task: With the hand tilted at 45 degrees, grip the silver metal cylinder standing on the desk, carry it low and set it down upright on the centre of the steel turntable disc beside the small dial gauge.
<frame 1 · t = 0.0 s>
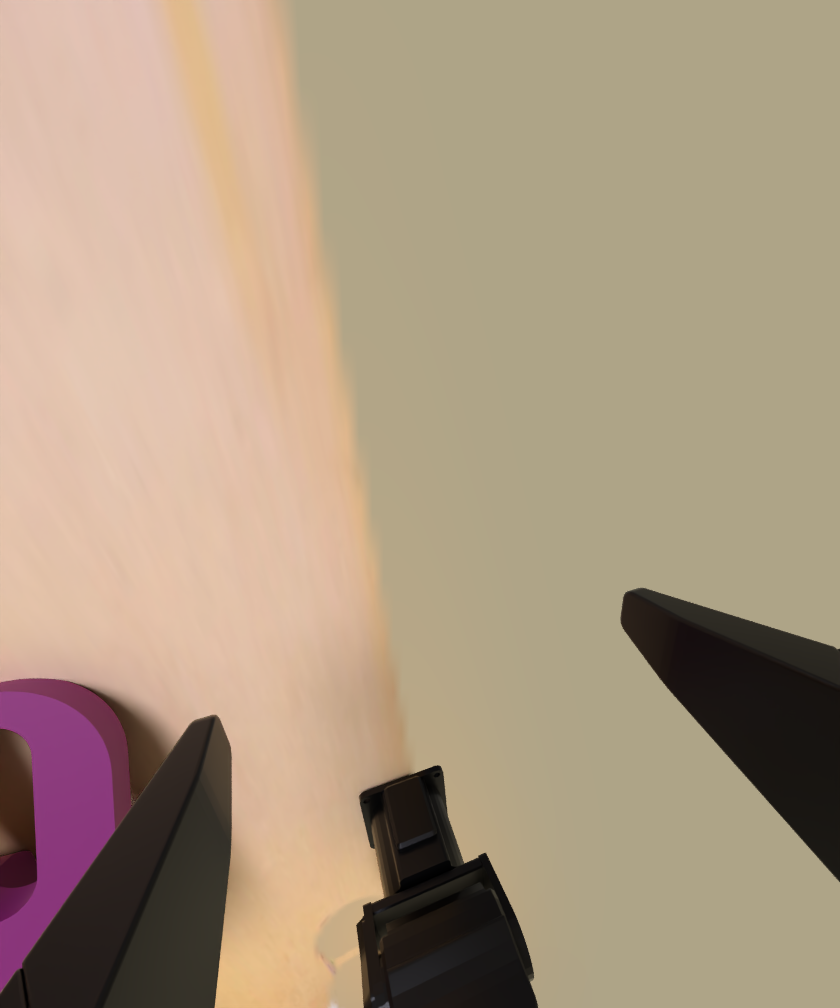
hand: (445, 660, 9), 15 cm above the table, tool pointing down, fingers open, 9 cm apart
mounting bracket: (62, 787, 25), on the table
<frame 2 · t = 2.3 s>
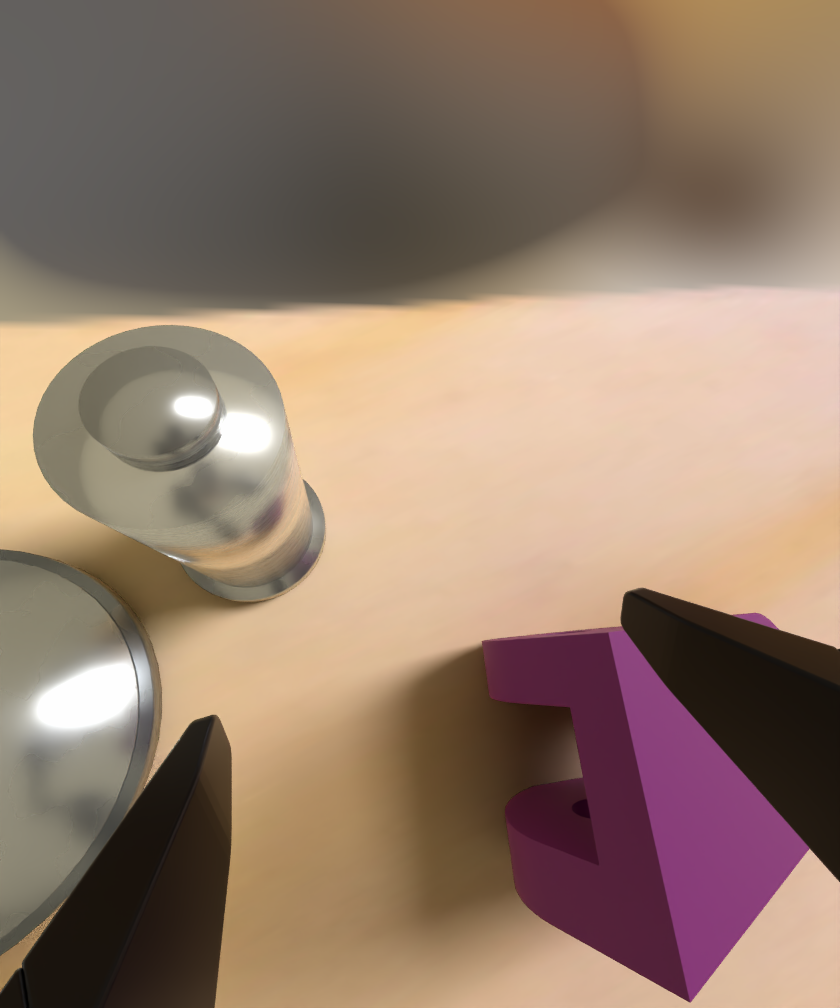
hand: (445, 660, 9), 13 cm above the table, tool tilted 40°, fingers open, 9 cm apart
silver metal cylinder: (256, 532, 22), on the table
mounting bracket: (636, 714, 23), on the table
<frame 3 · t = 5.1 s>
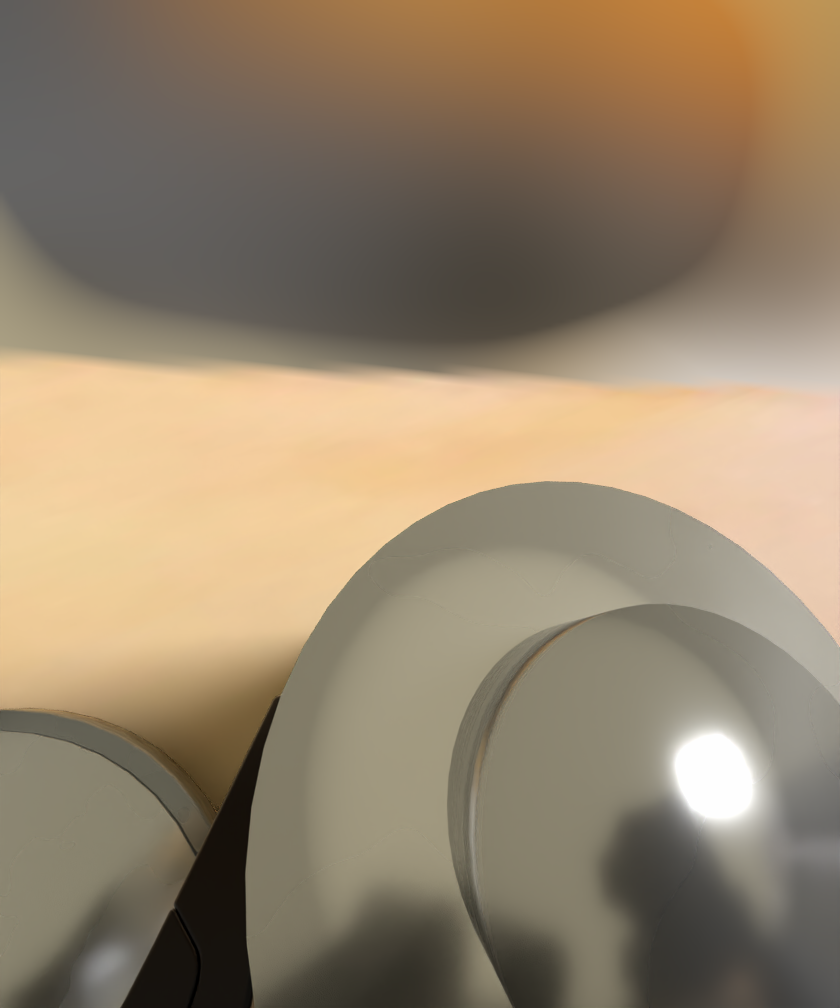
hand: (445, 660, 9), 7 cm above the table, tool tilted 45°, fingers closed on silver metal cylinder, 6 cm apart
silver metal cylinder: (418, 710, 15), on the table, touching gripper
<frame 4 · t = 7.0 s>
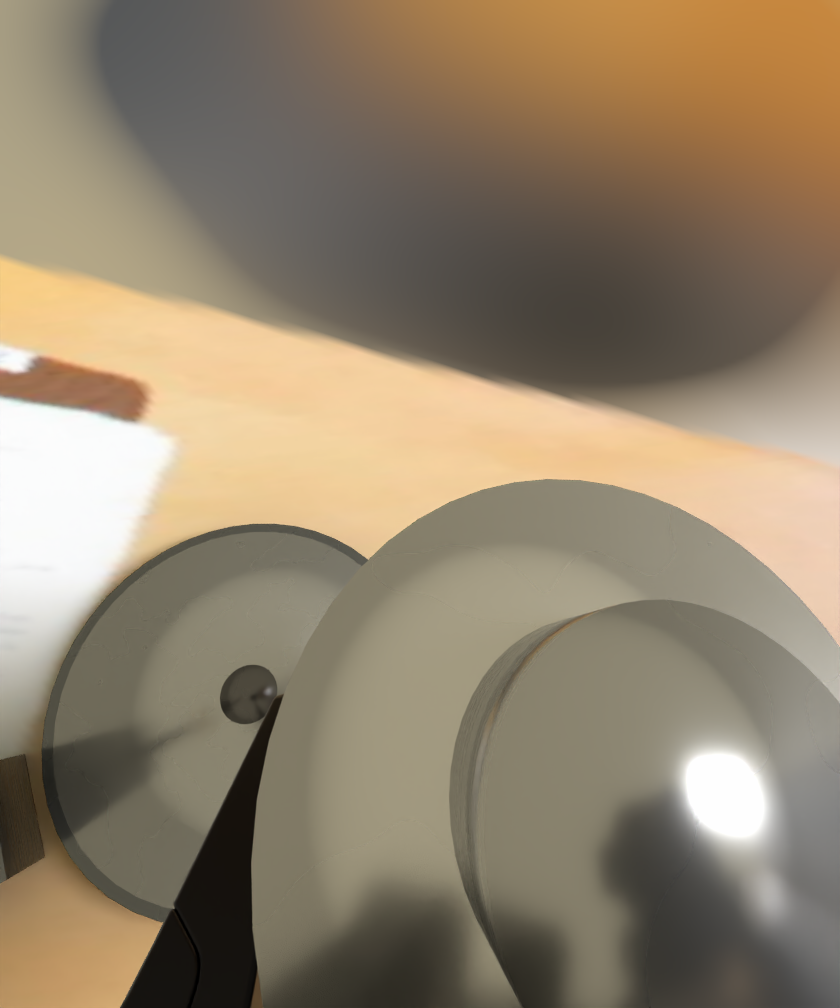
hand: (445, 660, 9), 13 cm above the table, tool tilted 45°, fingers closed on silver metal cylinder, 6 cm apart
silver metal cylinder: (419, 707, 15), point 7 cm above the table, touching gripper
turntable: (254, 692, 20), on the table
when the fingers open (9 cm above the table, at t = 8.8 s): silver metal cylinder drops 1 cm, resting on turntable.
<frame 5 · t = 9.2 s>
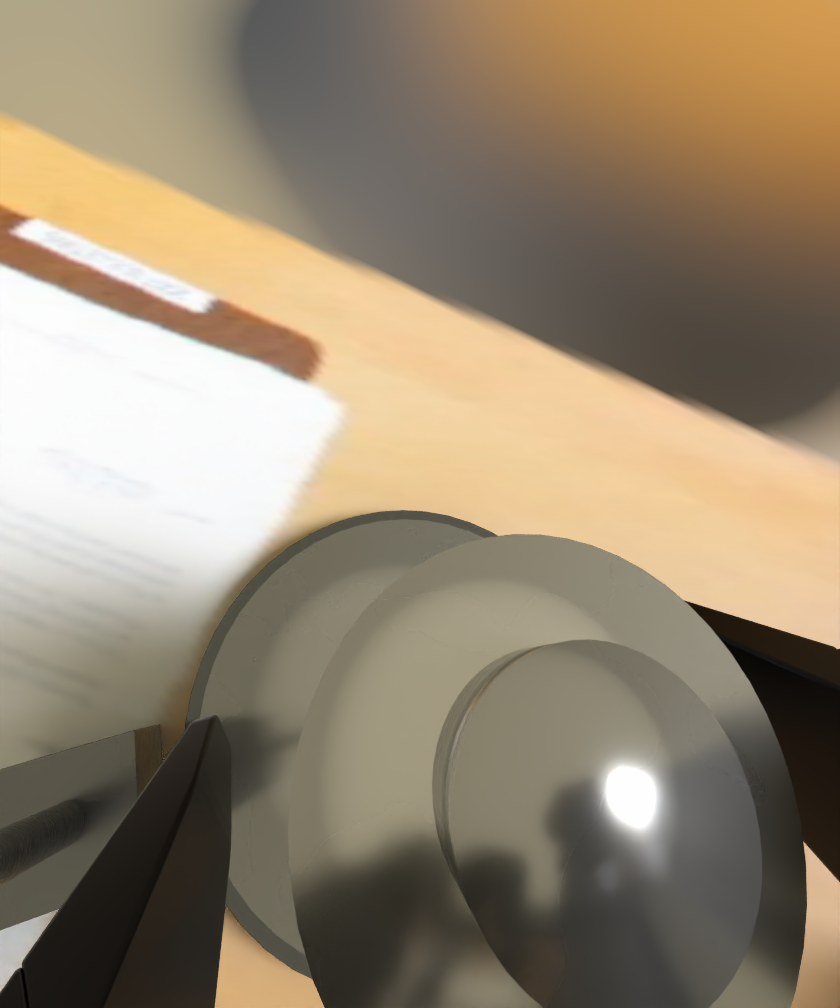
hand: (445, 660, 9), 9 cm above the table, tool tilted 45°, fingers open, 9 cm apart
silver metal cylinder: (414, 712, 16), point 1 cm above the table, touching turntable
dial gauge: (99, 806, 14), on the table
turntable: (409, 705, 17), on the table
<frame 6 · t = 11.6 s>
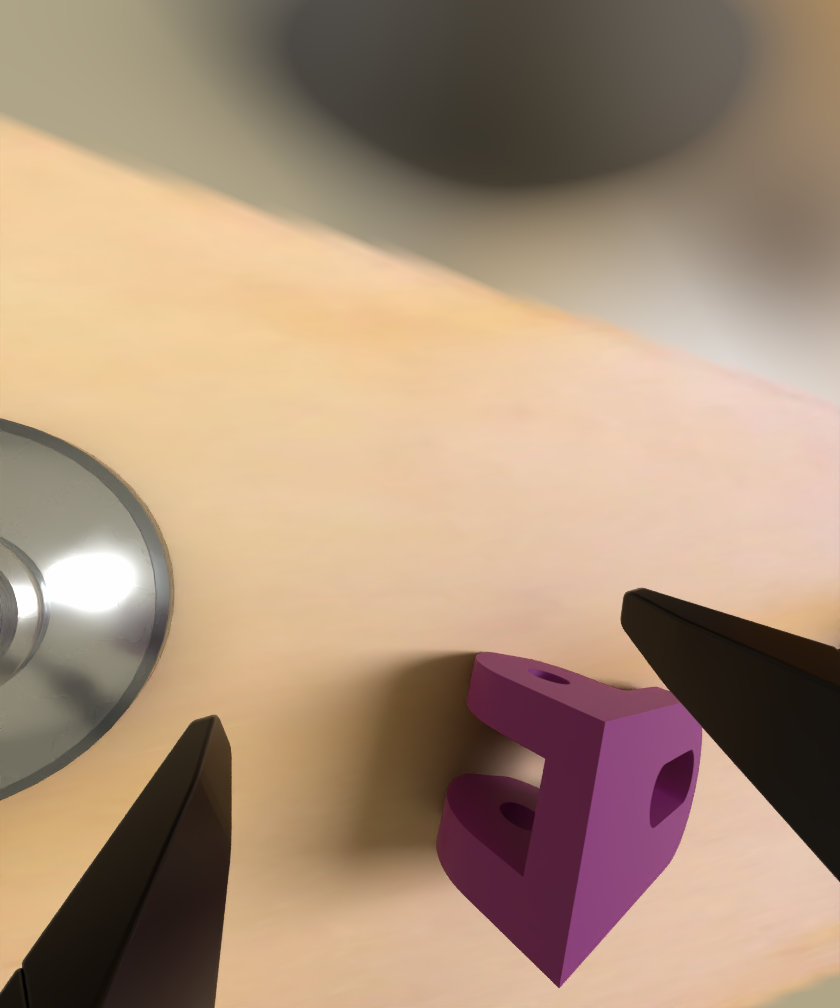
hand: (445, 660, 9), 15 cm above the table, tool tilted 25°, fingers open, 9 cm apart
mounting bracket: (564, 739, 27), on the table
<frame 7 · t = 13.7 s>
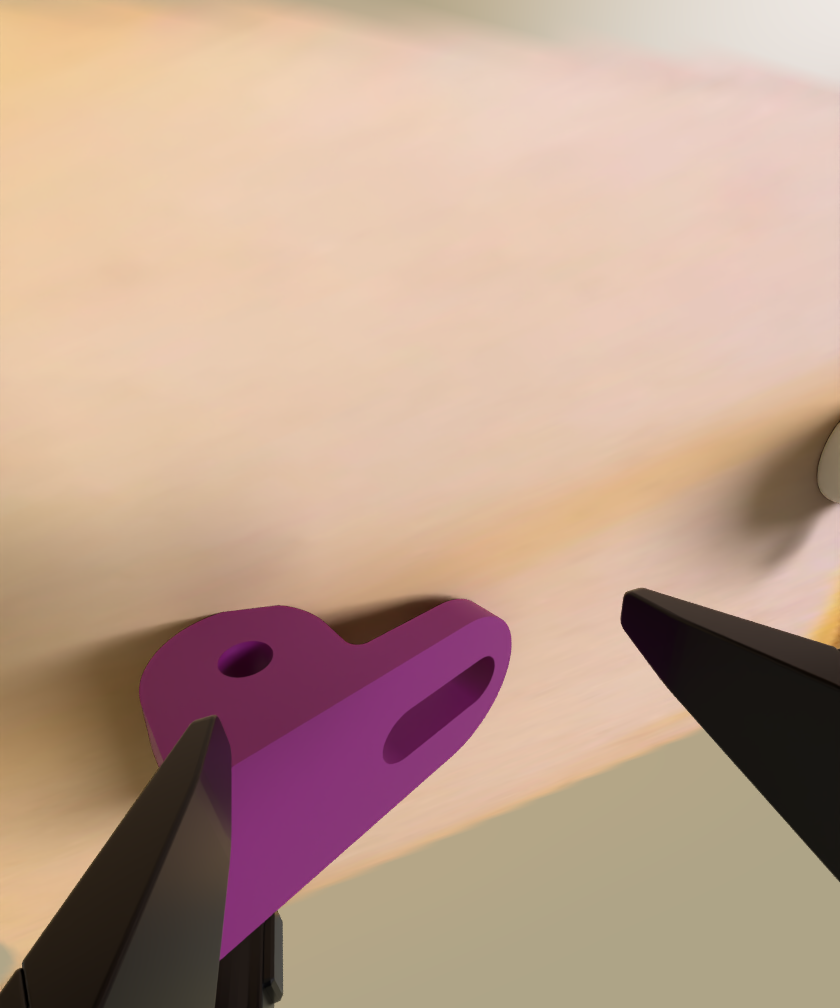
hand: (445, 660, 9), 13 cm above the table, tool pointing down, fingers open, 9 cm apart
mounting bracket: (354, 658, 25), on the table
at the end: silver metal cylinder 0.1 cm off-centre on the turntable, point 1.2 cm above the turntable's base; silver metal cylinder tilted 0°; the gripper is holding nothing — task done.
